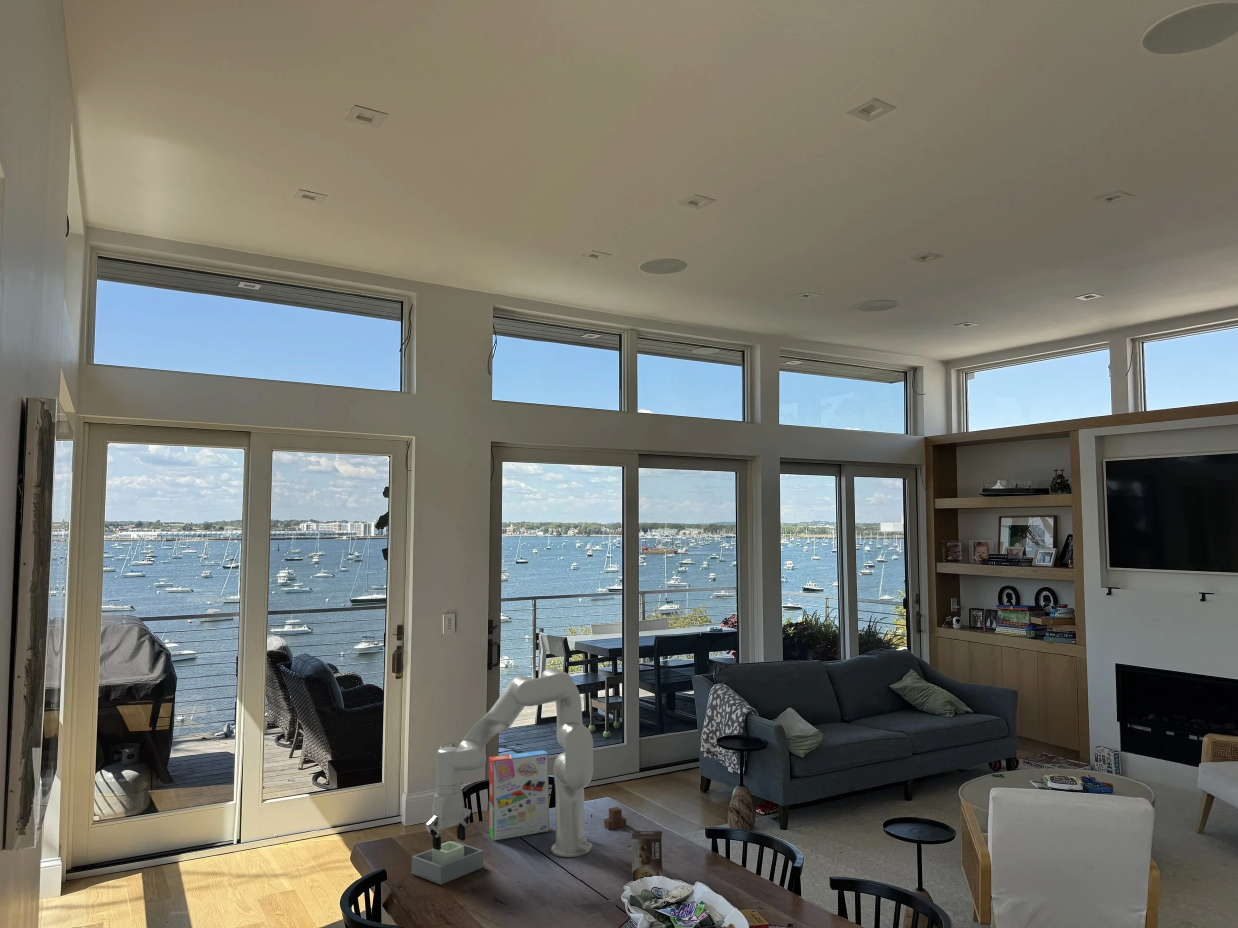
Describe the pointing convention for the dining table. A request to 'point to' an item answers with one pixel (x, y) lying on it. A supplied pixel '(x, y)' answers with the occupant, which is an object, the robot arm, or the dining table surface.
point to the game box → (518, 794)
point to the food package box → (647, 854)
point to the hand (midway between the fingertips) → (449, 844)
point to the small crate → (447, 853)
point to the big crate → (447, 865)
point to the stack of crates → (615, 819)
